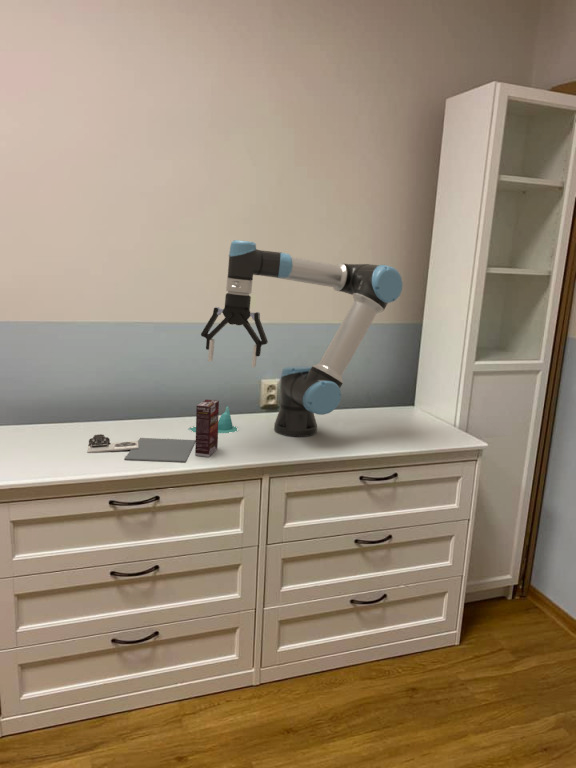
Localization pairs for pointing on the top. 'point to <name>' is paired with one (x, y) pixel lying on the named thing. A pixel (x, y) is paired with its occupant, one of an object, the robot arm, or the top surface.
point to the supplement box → (207, 428)
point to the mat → (161, 450)
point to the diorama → (223, 423)
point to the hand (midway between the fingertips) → (231, 363)
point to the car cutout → (109, 445)
